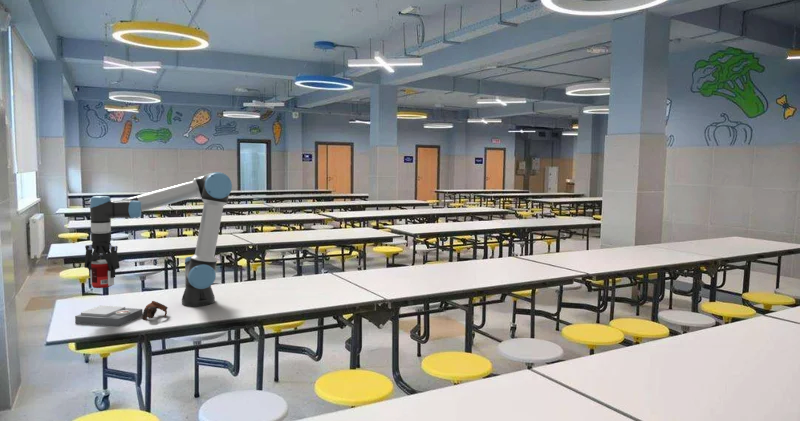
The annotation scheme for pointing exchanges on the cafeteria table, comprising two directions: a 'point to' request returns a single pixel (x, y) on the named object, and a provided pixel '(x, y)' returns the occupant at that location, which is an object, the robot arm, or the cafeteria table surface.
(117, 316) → the dial scale
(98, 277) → the canned food
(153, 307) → the brown arched piece
